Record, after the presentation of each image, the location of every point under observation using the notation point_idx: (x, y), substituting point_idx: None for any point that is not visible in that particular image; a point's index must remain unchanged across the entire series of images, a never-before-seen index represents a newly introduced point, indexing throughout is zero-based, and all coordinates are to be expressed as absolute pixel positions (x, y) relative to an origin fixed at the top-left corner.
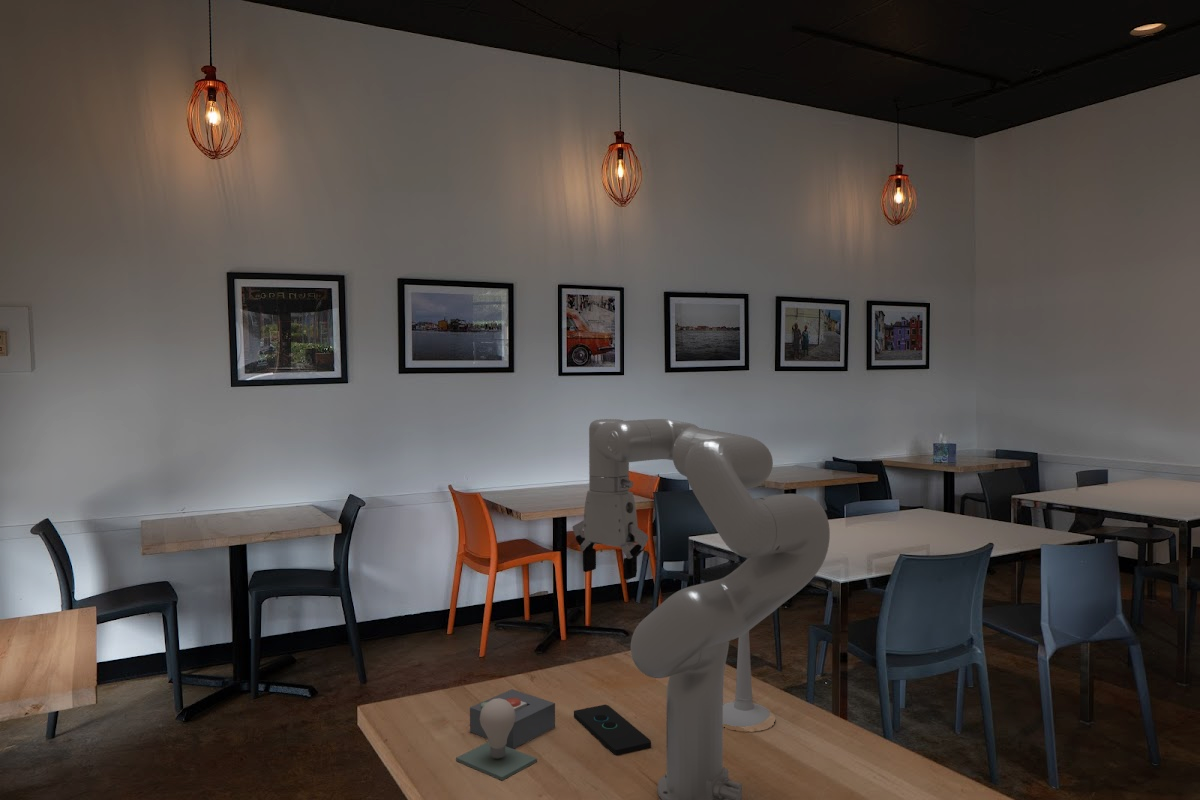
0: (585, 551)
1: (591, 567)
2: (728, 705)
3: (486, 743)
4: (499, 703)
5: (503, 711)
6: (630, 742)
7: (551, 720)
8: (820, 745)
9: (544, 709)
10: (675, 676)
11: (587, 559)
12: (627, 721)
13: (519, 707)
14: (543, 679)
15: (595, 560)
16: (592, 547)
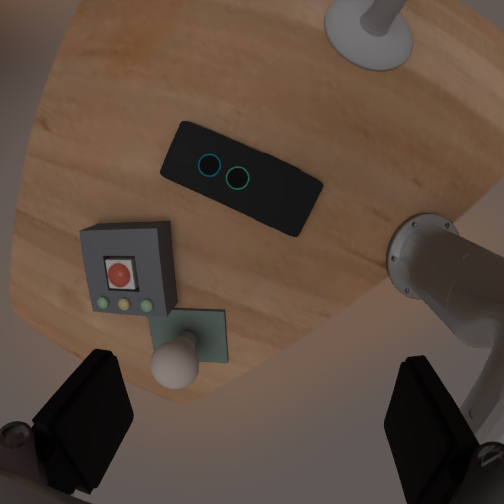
0: (85, 490)
1: (118, 394)
2: (352, 27)
3: (149, 317)
4: (176, 382)
5: (189, 381)
6: (299, 205)
7: (166, 231)
8: (472, 63)
9: (159, 252)
10: (482, 342)
11: (108, 454)
12: (249, 147)
13: (133, 275)
14: (55, 115)
15: (94, 386)
16: (53, 462)
